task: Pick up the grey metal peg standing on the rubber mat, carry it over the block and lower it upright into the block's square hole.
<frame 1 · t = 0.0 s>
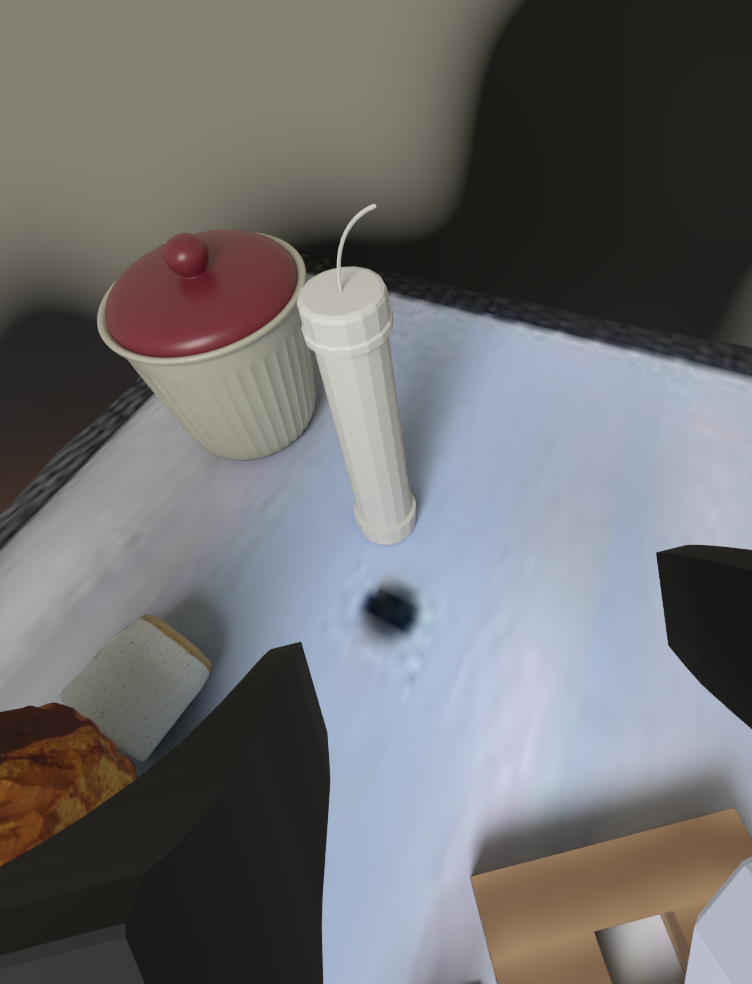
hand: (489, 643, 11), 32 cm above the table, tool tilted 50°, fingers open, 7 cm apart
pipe: (391, 525, 52), on the table
canister: (258, 422, 62), on the table
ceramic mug: (150, 692, 45), on the table
block: (640, 968, 32), on the table
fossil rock: (80, 960, 36), on the table
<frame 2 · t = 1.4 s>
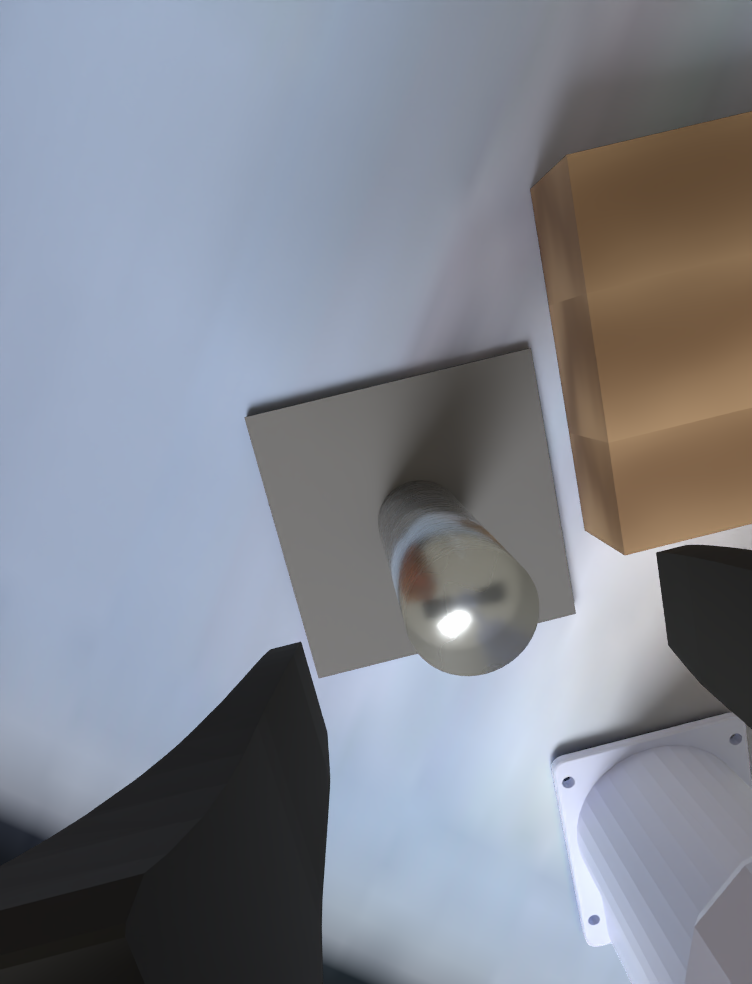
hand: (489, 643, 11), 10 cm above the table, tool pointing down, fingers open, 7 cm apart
peg: (419, 521, 20), resting on mat
mat: (418, 518, 21), on the table
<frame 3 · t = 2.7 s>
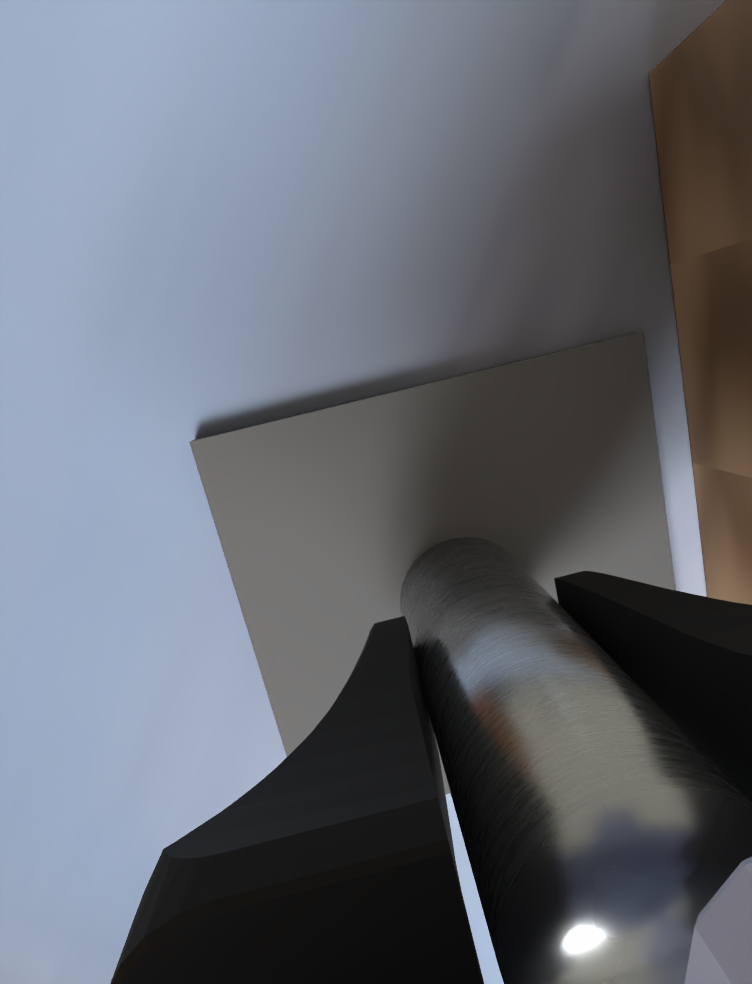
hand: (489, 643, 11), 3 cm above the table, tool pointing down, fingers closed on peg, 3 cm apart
peg: (463, 599, 13), resting on mat, touching gripper
mat: (460, 592, 14), on the table
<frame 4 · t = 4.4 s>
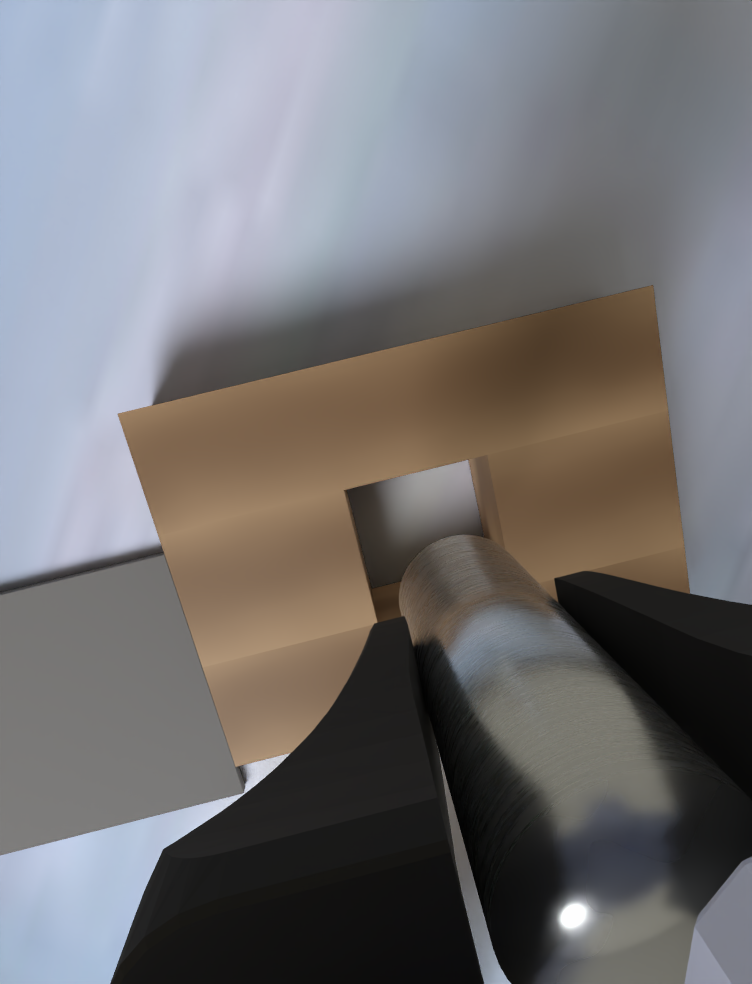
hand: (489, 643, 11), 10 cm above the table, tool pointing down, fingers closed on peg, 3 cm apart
peg: (461, 595, 13), point 7 cm above the table, touching gripper
block: (417, 517, 21), on the table
mat: (77, 707, 21), on the table
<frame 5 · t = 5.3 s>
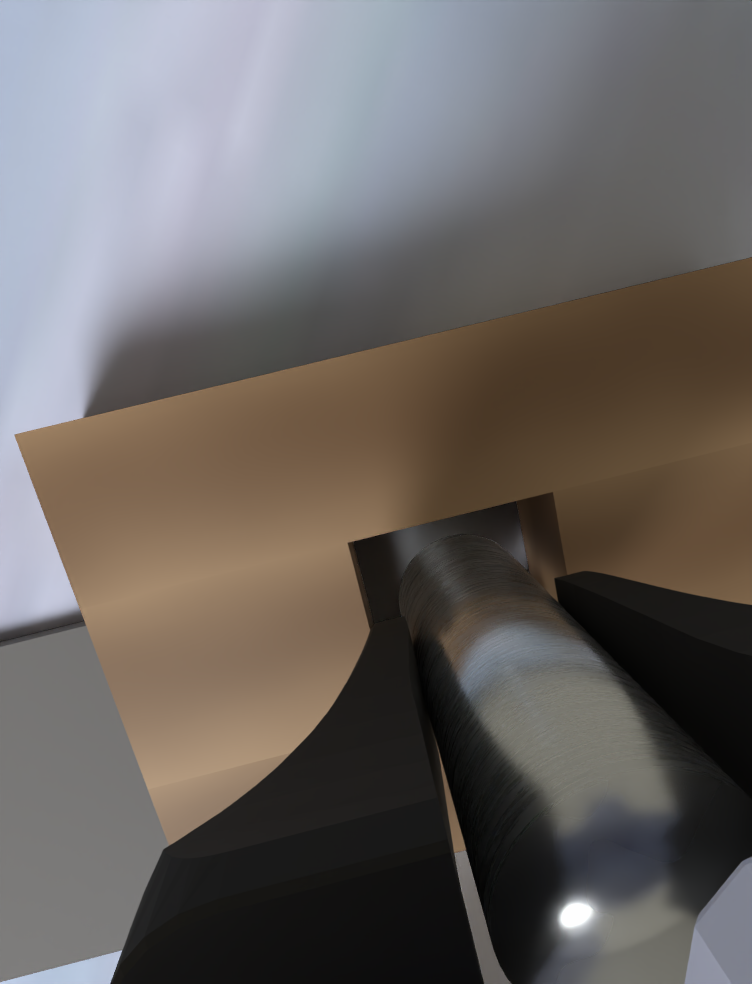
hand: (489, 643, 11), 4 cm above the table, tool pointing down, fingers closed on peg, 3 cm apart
peg: (461, 595, 13), point 2 cm above the table, touching gripper
block: (445, 567, 15), on the table
when the fingers open (3 cm above the table, at t = 5.9 s): peg drops 1 cm, resting in block.
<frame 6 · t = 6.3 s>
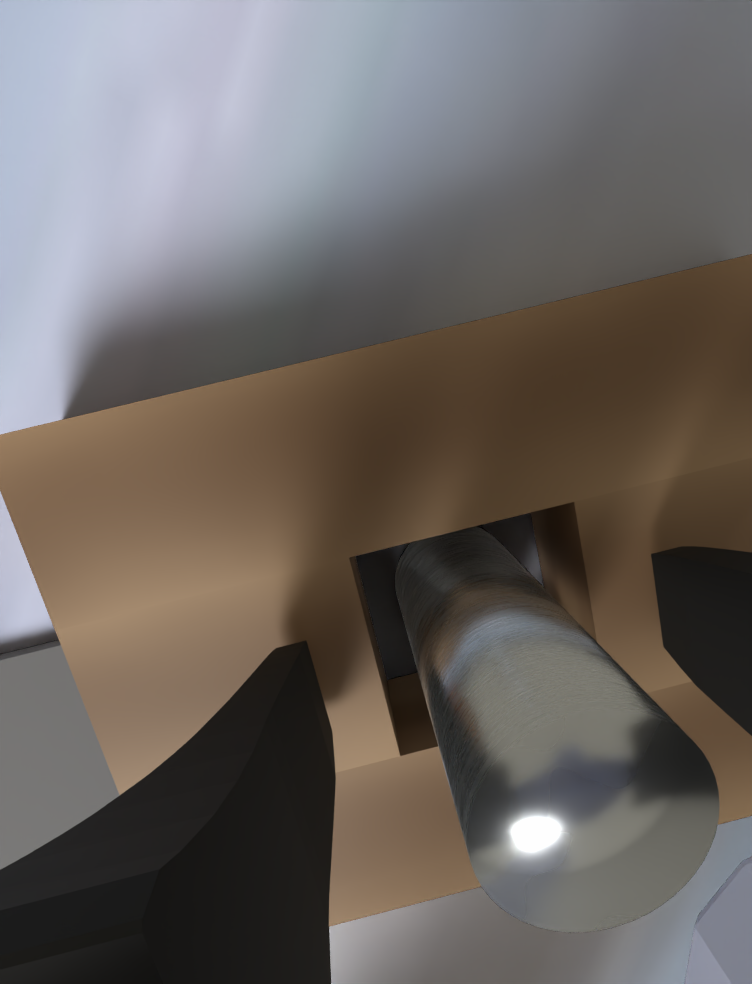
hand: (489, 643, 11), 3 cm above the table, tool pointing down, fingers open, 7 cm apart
peg: (453, 580, 14), resting in block
block: (453, 580, 14), on the table
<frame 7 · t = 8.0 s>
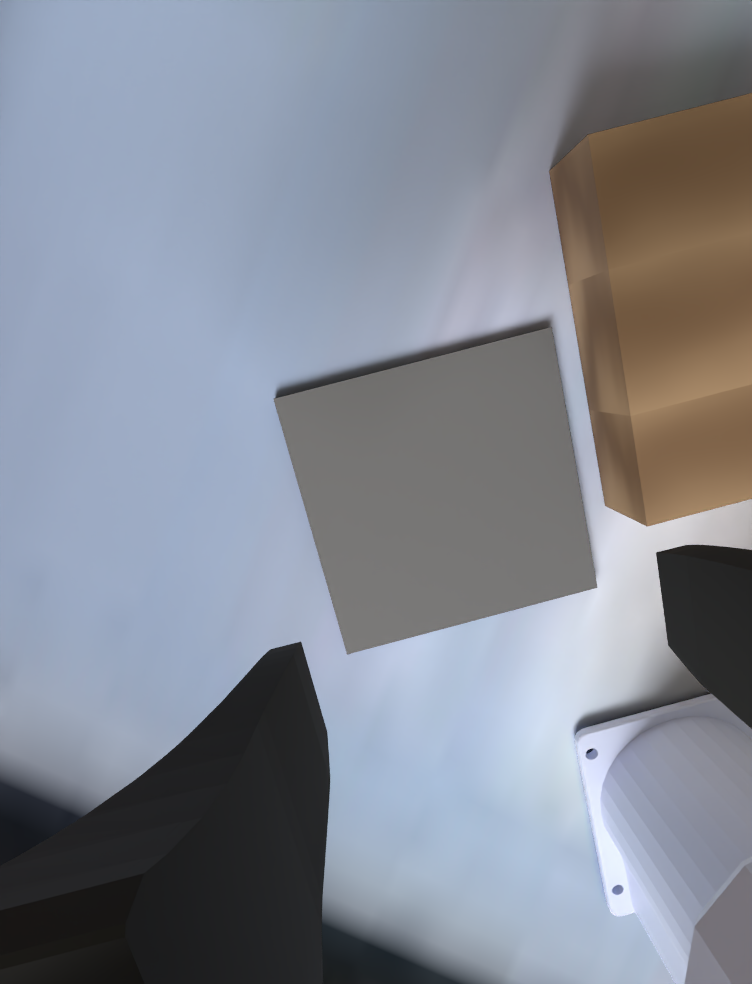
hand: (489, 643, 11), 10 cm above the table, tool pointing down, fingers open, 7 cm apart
mat: (442, 496, 21), on the table
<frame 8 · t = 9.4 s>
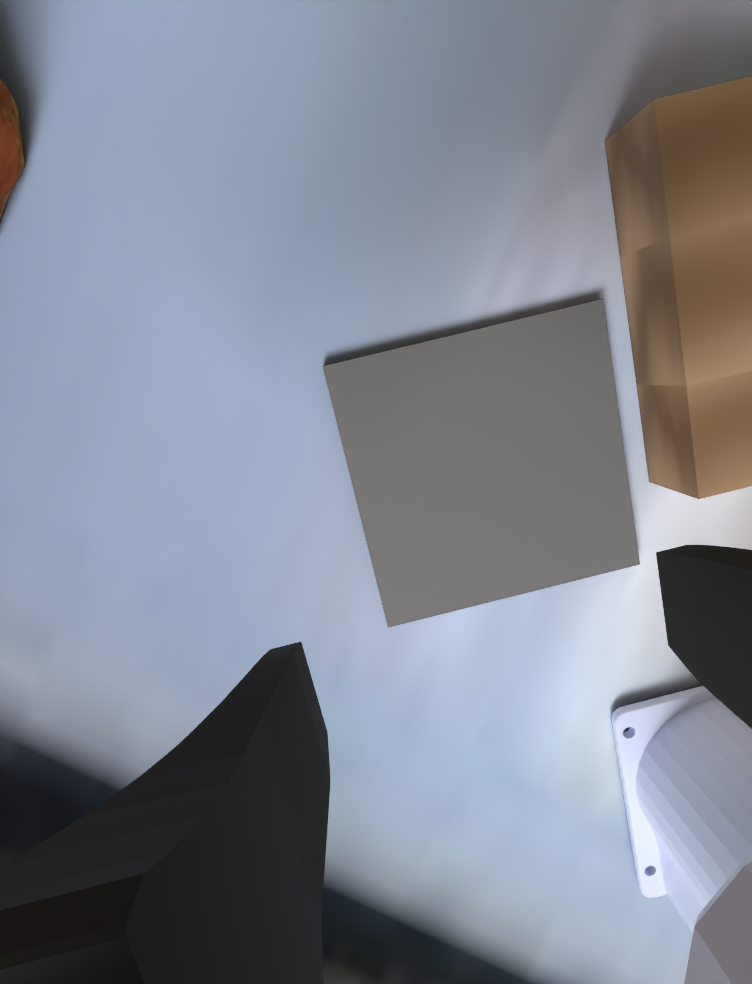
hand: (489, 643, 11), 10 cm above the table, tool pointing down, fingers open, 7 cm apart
mat: (487, 469, 21), on the table
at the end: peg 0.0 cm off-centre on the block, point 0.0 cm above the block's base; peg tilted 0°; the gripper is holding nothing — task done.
